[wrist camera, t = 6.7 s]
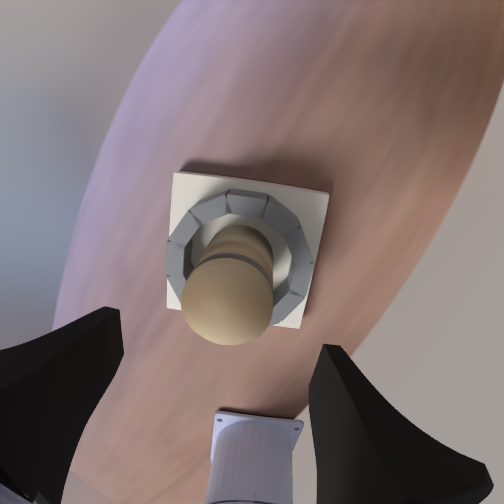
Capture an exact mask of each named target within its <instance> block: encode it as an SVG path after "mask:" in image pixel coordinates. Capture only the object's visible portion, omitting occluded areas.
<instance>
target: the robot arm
mask: <svg viewBox="0 0 504 504" xmlns="http://www.w3.org/2000/svg"><path fill="white" fill-rule="evenodd" d="M123 355H124V349H123V340H122V331H121V320H120V310H119V309H114V308H110V307H106V306H105V307H102V308H100V309H97V310H95V311H93V312H91V313H89V314H87V315H85V316H83V317H81V318H79V319H77V320H75V321H73V322H71V323H69V324H67V325H65V326H63V327H61V328H59V329H57V330H55V331H52V332H50V333H48V334H46V335H44V336H41V337H39V338H37V339H34V340H31V341H29V342H26V343H23V344H21V345H17V346H14V347H11V348H7V349H3V350H0V504H61V499H62V495H63V490H64V485H65V482H66V478H67V475H68V471H69V468H70V465H71V462H72V459H73V456H74V453H75V450H76V448H77V445H78V442H79V440H80V438H81V435H82V433H83V430H84V428H85V426H86V424H87V422H88V420H89V418H90V416H91V415H92V413H93V411H94V409H95V408H96V406H97V404H98V403H99V401H100V399H101V398H102V396H103V394H104V393H105V391H106V389H107V388H108V386H109V384H110V383H111V381H112V379H113V378H114V376H115V374H116V372H117V369H118V367H119V365H120V362H121V360H122V358H123ZM309 412H310V420H311V428H312V435H313V442H314V448H315V456H316V466H317V504H479V503H480V502H481V501H483V500H484V499H485V498H486V497H487V496H488V495H489V494H490V493H491V491H492V489H493V486H494V485H493V482H492V480H491V477H490V475H489V473H488V470H487V468H486V466H485V464H484V463H481V462H479V461H477V460H474V459H472V458H469V457H467V456H465V455H462V454H460V453H458V452H456V451H454V450H453V449H451V448H449V447H447V446H445V445H443V444H442V443H440V442H438V441H437V440H435V439H434V438H432V437H431V436H429V435H428V434H426V433H425V432H423V431H422V430H420V429H419V428H418V427H416V426H415V425H414V424H413V423H411V422H410V421H409V420H408V419H407V418H405V417H404V416H403V415H402V414H401V413H400V412H398V411H397V410H396V409H395V408H394V407H393V406H392V405H391V404H390V403H389V402H388V401H387V400H386V399H385V398H384V397H383V396H382V395H381V394H380V393H379V392H378V391H377V390H376V388H375V387H374V386H373V385H372V384H371V383H370V382H369V381H368V379H367V378H366V377H365V376H364V375H363V373H362V372H361V371H360V370H359V369H358V367H357V366H356V365H355V363H354V362H353V361H352V360H351V358H350V357H349V356H348V355H347V353H346V352H345V351H344V350H343V348H342V347H341V346H340V345H329V344H323V346H322V349H321V352H320V355H319V358H318V361H317V364H316V367H315V370H314V373H313V376H312V379H311V381H310V384H309ZM303 426H304V422H303V421H301V420H293V419H281V418H271V417H262V416H254V415H246V414H239V413H232V412H226V411H217V412H216V413H215V418H214V428H213V438H212V449H211V459H210V461H211V462H212V466H211V471H210V477H209V482H208V487H207V493H206V498H205V504H293V476H292V451H293V449H294V447H295V444H296V442H297V440H298V437H299V435H300V433H301V431H302V428H303Z"/></svg>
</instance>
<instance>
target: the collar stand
mask: <svg viewBox="0 0 504 504" xmlns="http://www.w3.org/2000/svg"><path fill="white" fill-rule="evenodd" d="M329 196H330V195H329V194H328V193H327V192H323V191H317V190H312V189H306V188H300V187H294V186H288V185H282V184H276V183H269V182H263V181H256V180H249V179H242V178H235V177H227V176H219V175H211V174H203V173H194V172H185V171H177V172H174V177H173V188H172V201H171V215H170V231H169V238H168V241H167V255H166V275H167V308H171V309H176V310H182V309H181V294H182V290H183V288H184V286H185V283H186V280H187V278H188V276H189V275H190V273H191V271H192V270H193V268H194V267H195V266H196V265H197V263H198V261H199V260H200V258H201V256H202V255H203V253H204V251H205V249H206V248H207V246H208V244H209V243H210V241H211V239H212V238H213V237H214V235H215V234H216V233H217V232H219V231H220V230H222V229H224V228H226V227H228V226H233V225H245V226H249V227H252V228H254V229H256V230H258V231H259V232H261V233H262V234H263V235H264V236H265V237H266V238H267V240H268V241H269V243H270V245H271V247H272V251H273V288H274V306H273V314H272V318H271V321H270V323H269V325H268V326H272V325H274V326H282V327H289V328H297V329H299V328H300V324H301V320H302V316H303V312H304V308H305V304H306V300H307V296H308V292H309V288H310V284H311V280H312V275H313V271H314V267H315V262H316V258H317V254H318V249H319V244H320V240H321V235H322V230H323V226H324V221H325V216H326V211H327V206H328V201H329Z"/></svg>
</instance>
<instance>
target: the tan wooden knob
mask: <svg viewBox="0 0 504 504" xmlns="http://www.w3.org/2000/svg"><path fill="white" fill-rule="evenodd" d="M273 306H274V288H273V251H272V247H271V245H270V243H269V241H268V240H267V238H266V237H265V236H264V235H263V234H262V233H261V232H259V231H258V230H256V229H254V228H252V227H249V226H245V225H233V226H228V227H226V228H224V229H222V230H220V231H219V232H217V233H216V234H215V235H214V237H213V238H212V239H211V241H210V243H209V244H208V246H207V248H206V249H205V251H204V253H203V255H202V256H201V258H200V260H199V261H198V263H197V265H196V266H195V267H194V268H193V270H192V271H191V273H190V275H189V276H188V278H187V280H186V283H185V286H184V288H183V290H182V294H181V309H182V313H183V316H184V318H185V320H186V321H187V323H188V324H189V326H190V327H191V328H192V329H193V330H194V331H195V332H196V333H197V334H198V335H200V336H201V337H203V338H205V339H207V340H209V341H211V342H214V343H218V344H223V345H238V344H243V343H247V342H249V341H252V340H253V339H255V338H257V337H258V336H260V335H261V334H262V333H263V332H264V331H265V329H266V328H267V327H268V325H269V323H270V321H271V318H272V314H273Z"/></svg>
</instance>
